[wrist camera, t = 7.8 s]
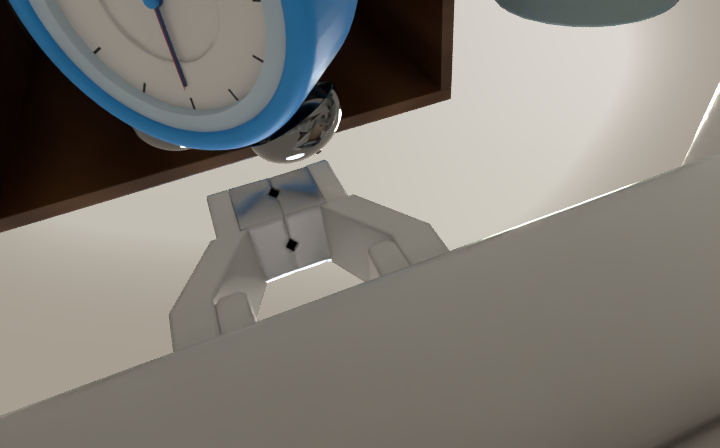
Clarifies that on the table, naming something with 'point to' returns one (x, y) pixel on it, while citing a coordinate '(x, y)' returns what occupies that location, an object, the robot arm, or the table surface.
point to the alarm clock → (203, 68)
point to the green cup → (587, 11)
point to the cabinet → (156, 167)
